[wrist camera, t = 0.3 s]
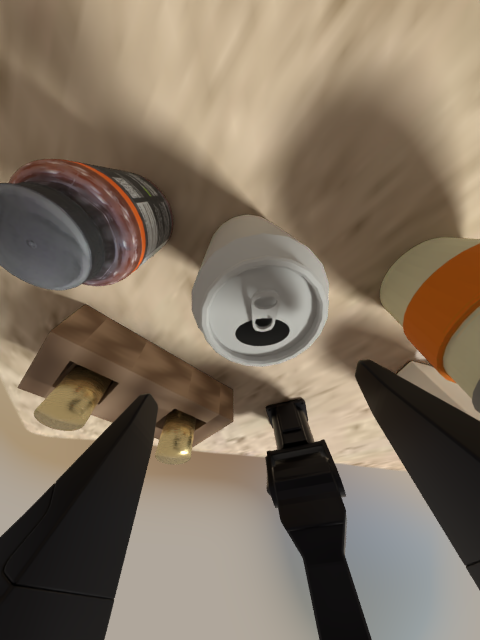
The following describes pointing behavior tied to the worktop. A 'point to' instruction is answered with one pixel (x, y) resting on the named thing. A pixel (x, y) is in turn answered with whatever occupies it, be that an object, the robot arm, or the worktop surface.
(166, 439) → the peg
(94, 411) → the walnut block
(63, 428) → the peg
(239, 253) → the can
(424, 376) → the milk carton
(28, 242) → the supplement bottle
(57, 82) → the worktop surface
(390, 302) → the reusable coffee cup
